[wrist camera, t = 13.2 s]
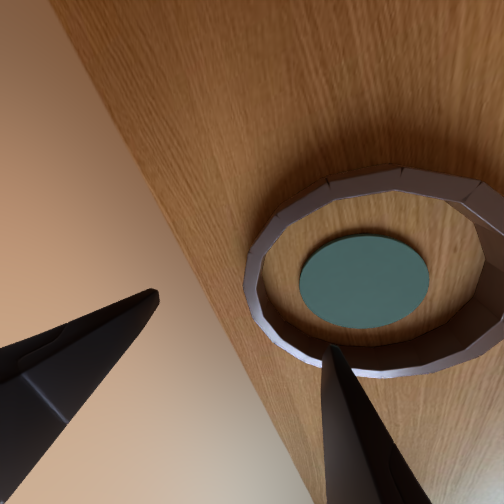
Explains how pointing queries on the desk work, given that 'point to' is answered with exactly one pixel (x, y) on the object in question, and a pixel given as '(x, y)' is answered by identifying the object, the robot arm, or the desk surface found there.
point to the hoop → (430, 344)
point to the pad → (364, 281)
